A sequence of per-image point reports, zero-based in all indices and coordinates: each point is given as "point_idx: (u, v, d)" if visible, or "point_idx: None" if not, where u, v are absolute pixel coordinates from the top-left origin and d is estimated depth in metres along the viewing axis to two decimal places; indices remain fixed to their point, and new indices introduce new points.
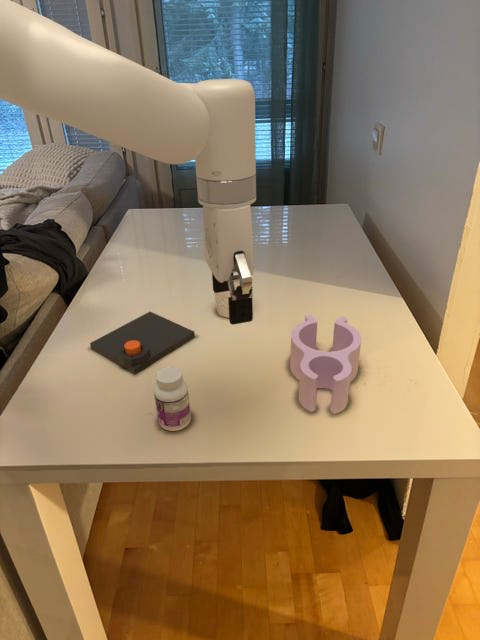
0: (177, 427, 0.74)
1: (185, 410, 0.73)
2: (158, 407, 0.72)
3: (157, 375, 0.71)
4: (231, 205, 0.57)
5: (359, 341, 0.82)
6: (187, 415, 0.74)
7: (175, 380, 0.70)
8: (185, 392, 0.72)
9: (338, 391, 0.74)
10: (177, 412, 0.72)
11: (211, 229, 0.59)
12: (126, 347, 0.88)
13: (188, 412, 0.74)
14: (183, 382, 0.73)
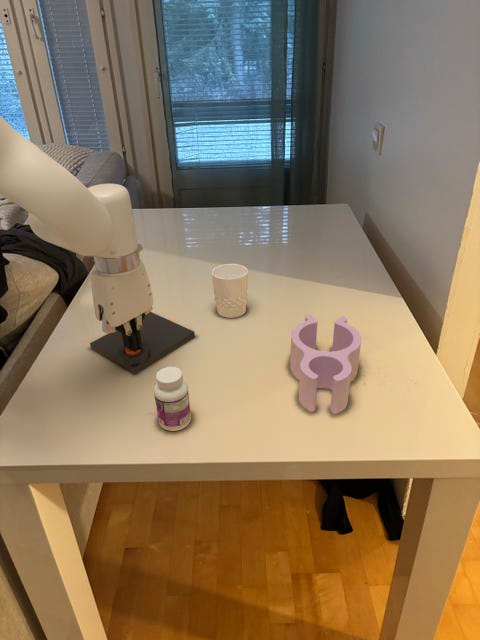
0: (177, 427, 0.74)
1: (185, 410, 0.73)
2: (158, 407, 0.72)
3: (157, 375, 0.71)
4: (98, 272, 0.78)
5: (359, 341, 0.82)
6: (187, 415, 0.74)
7: (175, 380, 0.70)
8: (185, 392, 0.72)
9: (338, 391, 0.74)
10: (178, 412, 0.72)
11: None
12: (127, 351, 0.88)
13: (188, 412, 0.74)
14: (183, 382, 0.73)
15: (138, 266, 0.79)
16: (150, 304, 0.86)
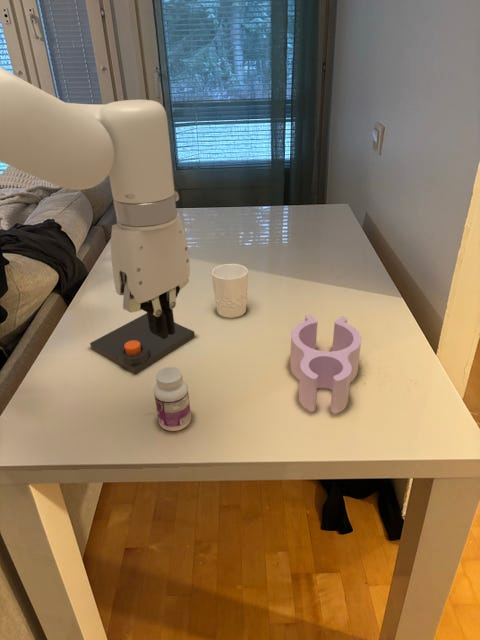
0: (177, 427, 0.74)
1: (185, 410, 0.73)
2: (158, 407, 0.72)
3: (157, 375, 0.71)
4: (121, 225, 0.56)
5: (359, 341, 0.82)
6: (187, 415, 0.74)
7: (175, 380, 0.70)
8: (185, 392, 0.72)
9: (339, 391, 0.74)
10: (177, 412, 0.72)
11: None
12: (126, 347, 0.88)
13: (188, 412, 0.74)
14: (183, 382, 0.73)
15: (175, 219, 0.58)
16: (187, 274, 0.65)
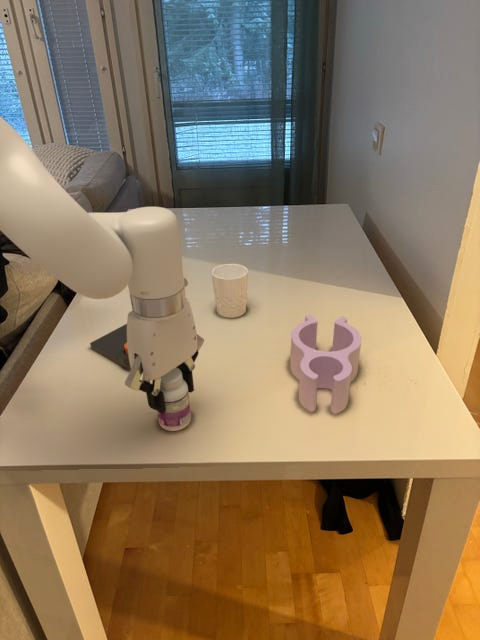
0: (177, 427, 0.74)
1: (185, 410, 0.73)
2: None
3: None
4: (136, 315, 0.63)
5: (359, 341, 0.82)
6: (187, 415, 0.74)
7: (175, 380, 0.70)
8: (185, 392, 0.72)
9: (339, 391, 0.74)
10: (177, 412, 0.72)
11: None
12: (126, 347, 0.88)
13: (188, 412, 0.74)
14: (183, 382, 0.73)
15: (184, 307, 0.64)
16: (194, 349, 0.71)
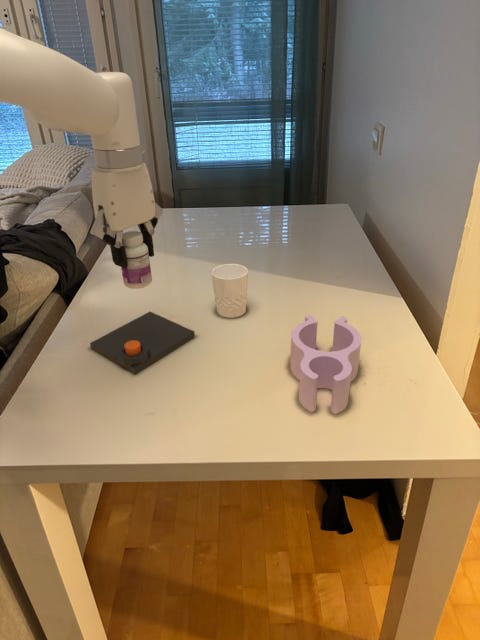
0: (139, 284, 0.85)
1: (145, 269, 0.84)
2: None
3: None
4: (99, 168, 0.74)
5: (359, 341, 0.82)
6: (148, 275, 0.85)
7: (135, 237, 0.81)
8: (145, 251, 0.83)
9: (339, 391, 0.74)
10: (138, 268, 0.83)
11: None
12: (126, 347, 0.88)
13: (149, 272, 0.86)
14: (144, 244, 0.84)
15: (140, 164, 0.76)
16: (152, 213, 0.82)
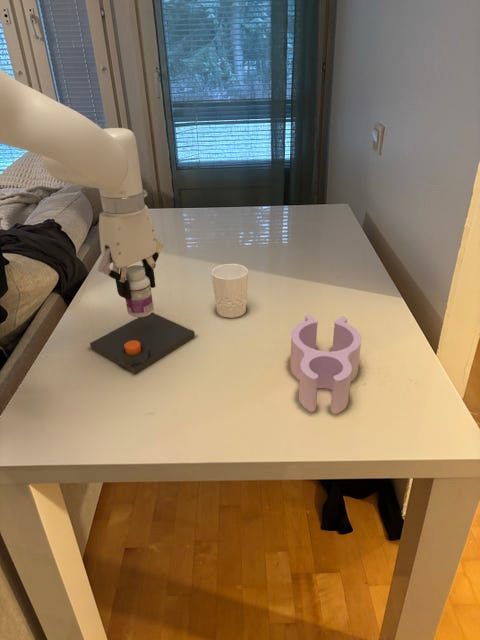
0: (141, 314, 0.93)
1: (148, 299, 0.93)
2: None
3: None
4: (106, 213, 0.82)
5: (359, 341, 0.82)
6: (150, 305, 0.94)
7: (138, 272, 0.89)
8: (147, 284, 0.91)
9: (339, 391, 0.74)
10: (141, 300, 0.92)
11: None
12: (126, 347, 0.88)
13: (150, 302, 0.94)
14: (146, 277, 0.92)
15: (143, 209, 0.84)
16: (154, 249, 0.90)
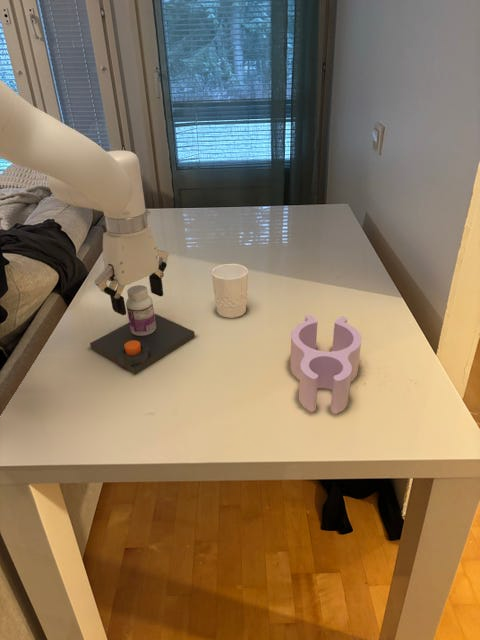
0: (144, 332, 0.95)
1: (150, 318, 0.95)
2: (129, 316, 0.94)
3: (128, 290, 0.93)
4: (109, 233, 0.84)
5: (359, 341, 0.82)
6: (152, 323, 0.96)
7: (141, 293, 0.92)
8: (149, 304, 0.93)
9: (339, 391, 0.74)
10: (144, 319, 0.94)
11: None
12: (126, 347, 0.88)
13: (153, 321, 0.96)
14: (148, 297, 0.94)
15: (146, 228, 0.86)
16: (156, 267, 0.92)
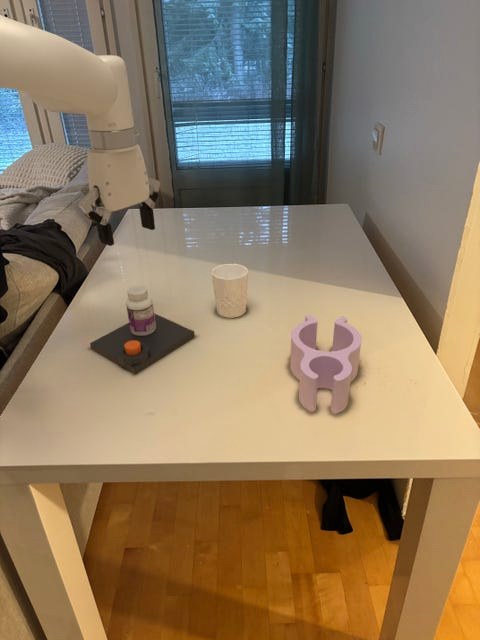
0: (144, 332, 0.95)
1: (150, 319, 0.95)
2: (129, 316, 0.94)
3: (128, 290, 0.93)
4: (94, 149, 0.77)
5: (359, 341, 0.82)
6: (152, 323, 0.96)
7: (141, 293, 0.92)
8: (149, 304, 0.93)
9: (339, 391, 0.74)
10: (144, 319, 0.94)
11: None
12: (126, 347, 0.88)
13: (153, 321, 0.96)
14: (148, 297, 0.94)
15: (134, 146, 0.78)
16: (147, 194, 0.85)
